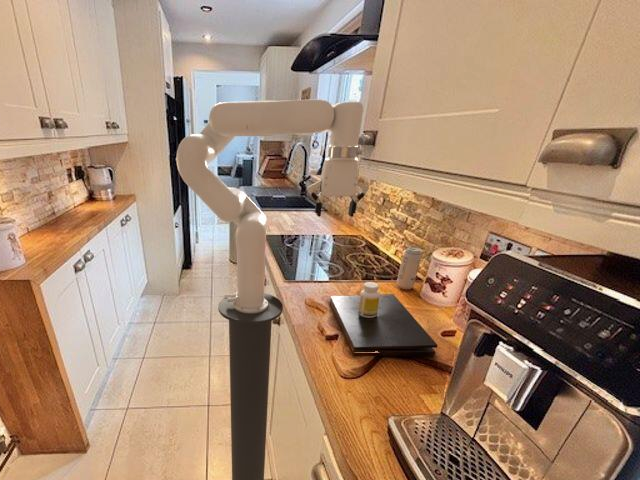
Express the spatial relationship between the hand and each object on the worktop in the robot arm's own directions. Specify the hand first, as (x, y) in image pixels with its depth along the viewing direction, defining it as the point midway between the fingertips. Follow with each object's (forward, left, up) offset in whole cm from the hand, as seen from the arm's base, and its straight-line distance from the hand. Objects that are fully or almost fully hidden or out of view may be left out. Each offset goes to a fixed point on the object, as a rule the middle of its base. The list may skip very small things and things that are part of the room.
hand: (334, 215), depth 98 cm
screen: (+13, -14, -28) cm, 34 cm away
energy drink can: (+34, +16, -31) cm, 48 cm away
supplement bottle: (+11, -12, -27) cm, 32 cm away
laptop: (+13, -14, -30) cm, 36 cm away
